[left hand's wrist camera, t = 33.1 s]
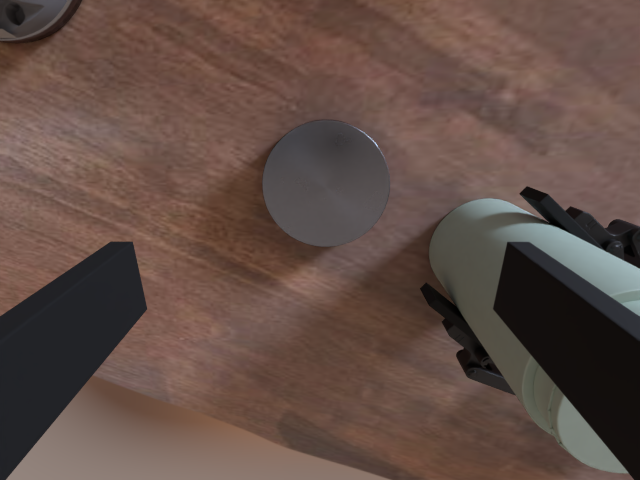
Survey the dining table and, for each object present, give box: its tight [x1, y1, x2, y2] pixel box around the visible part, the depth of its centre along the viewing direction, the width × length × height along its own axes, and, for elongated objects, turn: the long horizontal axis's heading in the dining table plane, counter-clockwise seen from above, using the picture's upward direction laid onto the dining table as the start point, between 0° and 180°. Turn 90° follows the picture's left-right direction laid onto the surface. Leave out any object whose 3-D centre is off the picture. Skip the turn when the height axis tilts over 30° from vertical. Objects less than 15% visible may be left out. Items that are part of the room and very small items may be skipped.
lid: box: [262, 120, 390, 247], centre depth 31 cm, size 11×11×2 cm
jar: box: [429, 199, 640, 473], centre depth 25 cm, size 10×10×19 cm
